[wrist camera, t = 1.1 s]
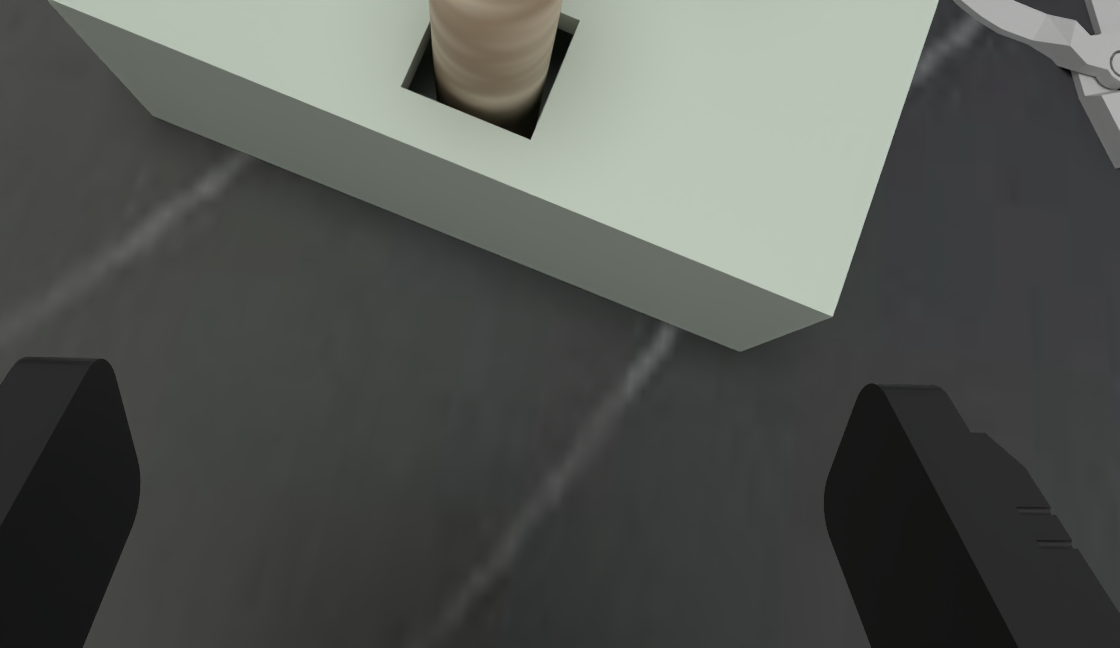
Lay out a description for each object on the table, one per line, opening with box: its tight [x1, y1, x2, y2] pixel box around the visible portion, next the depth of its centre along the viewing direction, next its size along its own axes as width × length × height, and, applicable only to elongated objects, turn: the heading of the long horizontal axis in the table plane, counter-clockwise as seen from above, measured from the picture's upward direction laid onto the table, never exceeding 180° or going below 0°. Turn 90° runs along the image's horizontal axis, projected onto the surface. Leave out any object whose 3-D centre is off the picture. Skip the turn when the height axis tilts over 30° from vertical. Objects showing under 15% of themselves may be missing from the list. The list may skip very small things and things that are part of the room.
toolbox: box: [47, 0, 939, 352], centre depth 30 cm, size 24×11×12 cm, turn 69°
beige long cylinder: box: [429, 0, 563, 140], centre depth 25 cm, size 4×4×19 cm
